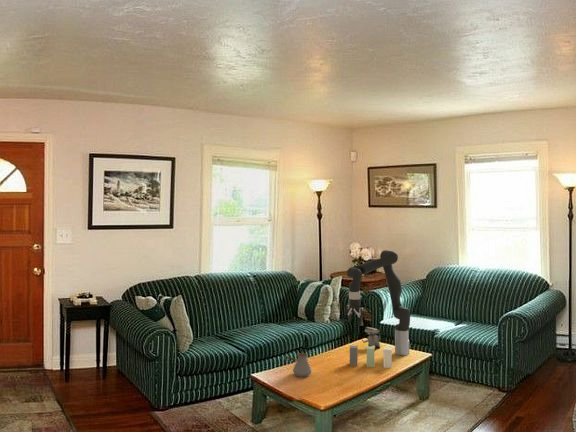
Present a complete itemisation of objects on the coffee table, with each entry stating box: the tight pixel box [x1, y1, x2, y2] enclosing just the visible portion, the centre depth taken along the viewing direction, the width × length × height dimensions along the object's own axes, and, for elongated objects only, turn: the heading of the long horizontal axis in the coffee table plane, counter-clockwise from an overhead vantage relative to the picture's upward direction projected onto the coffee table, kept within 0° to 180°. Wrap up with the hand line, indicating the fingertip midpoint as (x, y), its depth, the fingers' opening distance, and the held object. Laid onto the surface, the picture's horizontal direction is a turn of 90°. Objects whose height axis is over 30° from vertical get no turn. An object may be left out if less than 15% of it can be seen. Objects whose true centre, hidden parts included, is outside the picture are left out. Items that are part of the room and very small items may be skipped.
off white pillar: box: [382, 346, 393, 369], centre depth 329 cm, size 5×5×12 cm
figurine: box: [361, 326, 381, 349], centre depth 369 cm, size 9×12×15 cm
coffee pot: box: [285, 352, 312, 378], centre depth 309 cm, size 21×12×15 cm, turn 139°
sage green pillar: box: [366, 345, 376, 368], centre depth 331 cm, size 5×5×12 cm
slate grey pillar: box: [349, 345, 359, 367], centre depth 333 cm, size 5×5×12 cm
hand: (354, 321), depth 335 cm, fingers open, 8 cm apart
